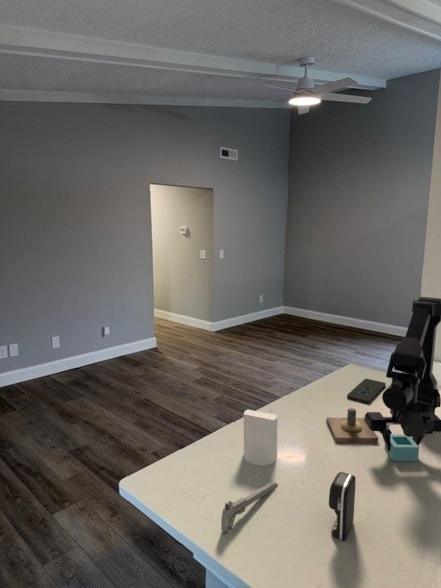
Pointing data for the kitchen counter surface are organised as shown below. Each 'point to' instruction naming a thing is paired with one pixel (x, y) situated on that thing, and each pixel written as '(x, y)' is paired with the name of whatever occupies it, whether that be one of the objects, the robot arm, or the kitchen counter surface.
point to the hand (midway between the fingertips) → (400, 450)
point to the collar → (403, 448)
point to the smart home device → (366, 391)
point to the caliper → (242, 505)
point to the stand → (351, 429)
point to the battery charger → (342, 503)
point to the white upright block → (260, 437)
